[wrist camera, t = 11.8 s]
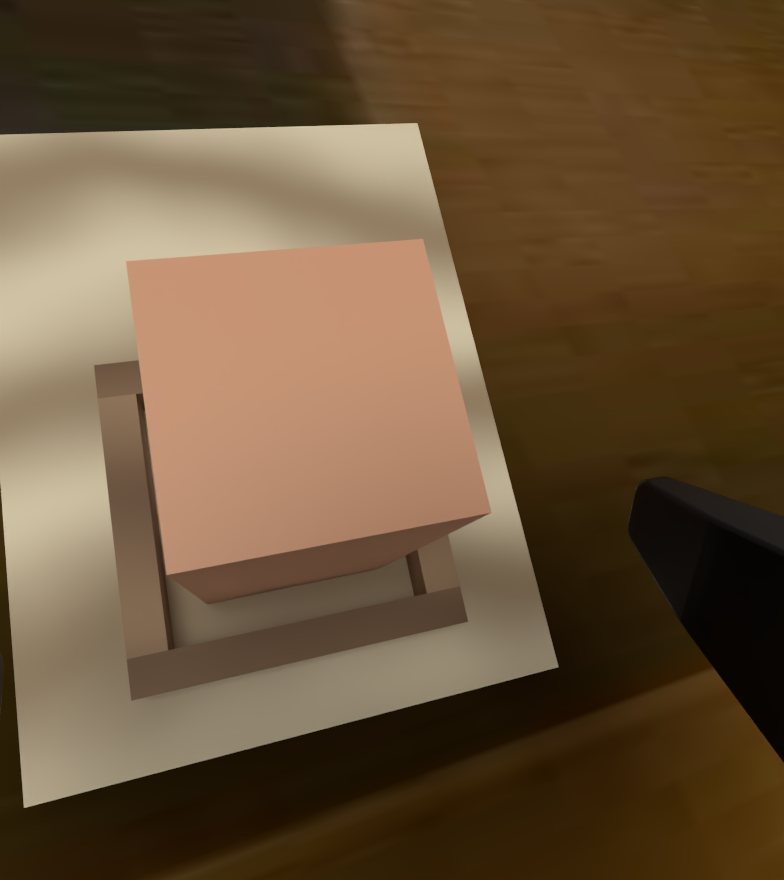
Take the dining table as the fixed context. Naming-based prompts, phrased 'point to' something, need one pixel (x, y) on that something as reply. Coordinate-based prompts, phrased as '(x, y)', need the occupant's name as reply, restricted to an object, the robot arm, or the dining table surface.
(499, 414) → the dining table surface
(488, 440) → the board
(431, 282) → the pillar
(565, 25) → the dining table surface
